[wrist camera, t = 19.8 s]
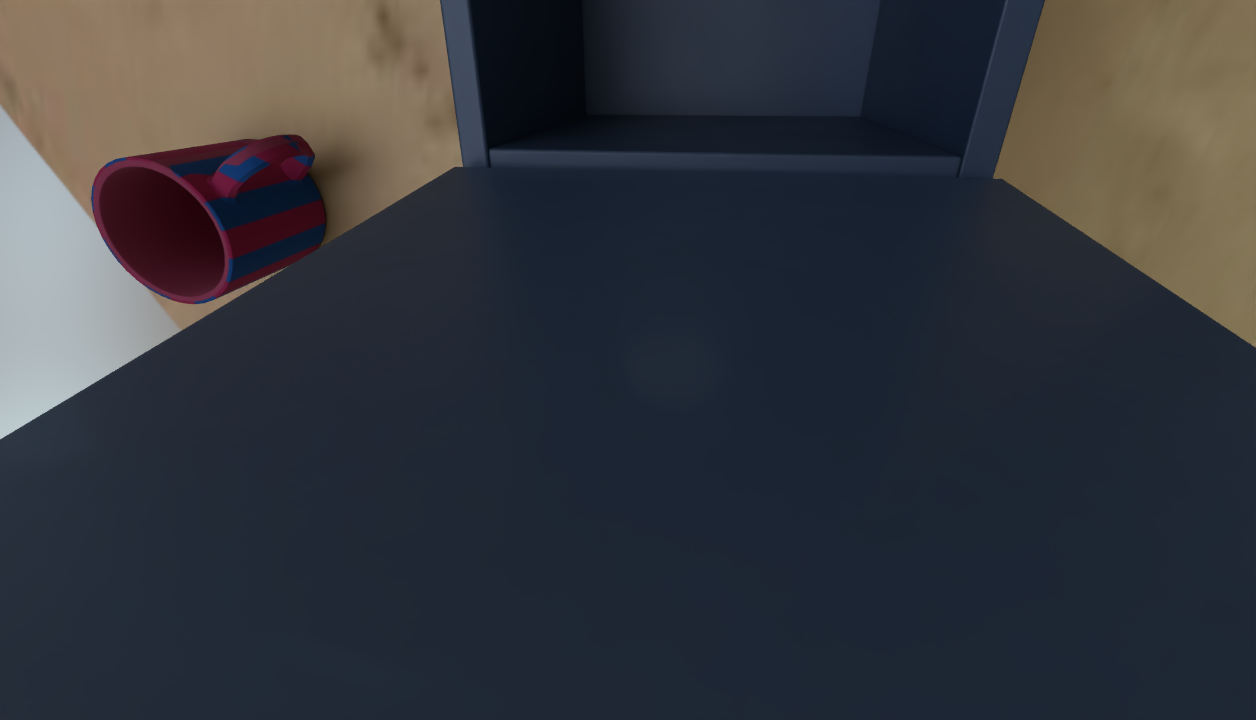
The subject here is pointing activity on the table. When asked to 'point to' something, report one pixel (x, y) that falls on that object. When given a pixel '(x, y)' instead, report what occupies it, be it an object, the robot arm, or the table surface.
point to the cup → (210, 214)
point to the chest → (738, 84)
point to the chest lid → (653, 472)
